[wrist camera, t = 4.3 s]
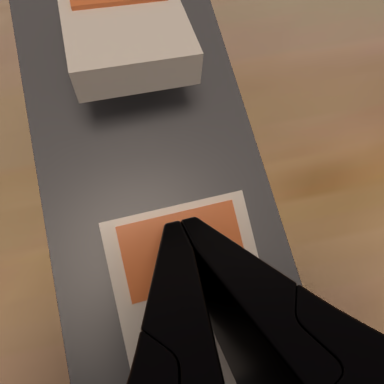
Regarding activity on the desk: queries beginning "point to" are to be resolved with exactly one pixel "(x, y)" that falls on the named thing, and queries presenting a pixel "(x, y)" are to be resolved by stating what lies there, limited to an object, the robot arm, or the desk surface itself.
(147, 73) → the block
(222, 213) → the rocker
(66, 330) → the switch block
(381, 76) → the desk surface
